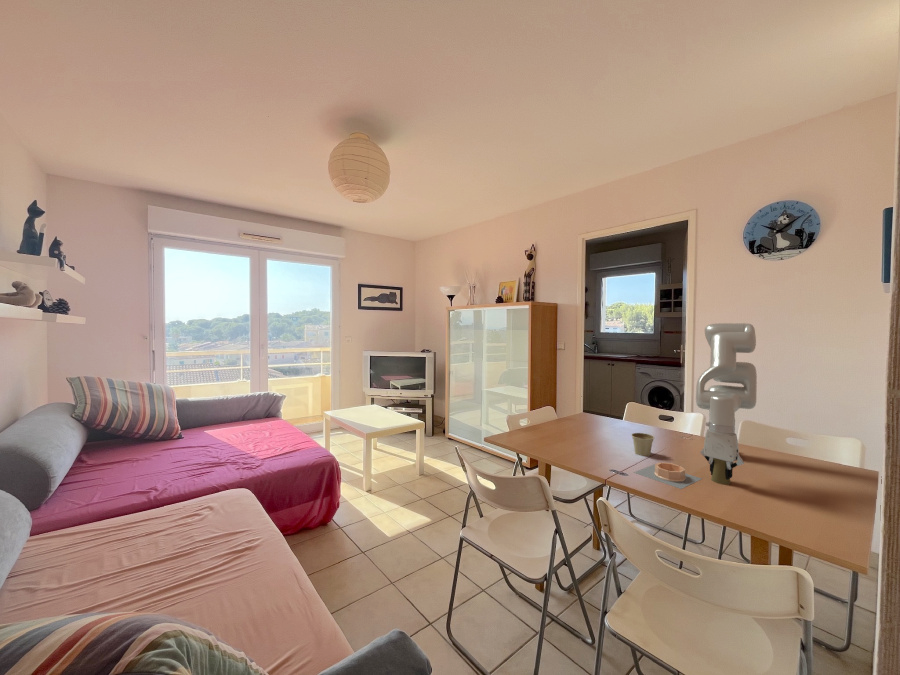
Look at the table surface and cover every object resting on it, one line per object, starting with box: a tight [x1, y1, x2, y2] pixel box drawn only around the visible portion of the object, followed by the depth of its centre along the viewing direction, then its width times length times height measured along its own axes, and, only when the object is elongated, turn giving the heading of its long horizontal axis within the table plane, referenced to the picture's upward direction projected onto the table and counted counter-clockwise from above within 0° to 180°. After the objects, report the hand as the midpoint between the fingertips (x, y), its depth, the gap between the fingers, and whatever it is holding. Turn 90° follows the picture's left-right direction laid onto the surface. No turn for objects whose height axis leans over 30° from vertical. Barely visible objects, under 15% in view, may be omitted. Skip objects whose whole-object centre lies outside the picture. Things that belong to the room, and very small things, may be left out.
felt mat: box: [633, 463, 703, 490], centre depth 146 cm, size 16×18×1 cm
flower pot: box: [630, 432, 655, 457], centre depth 171 cm, size 9×9×9 cm
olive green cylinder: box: [710, 458, 731, 486], centre depth 140 cm, size 6×6×11 cm
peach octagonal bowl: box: [655, 462, 686, 482], centre depth 145 cm, size 10×10×4 cm
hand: (720, 475), depth 140 cm, fingers closed on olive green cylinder, 4 cm apart
